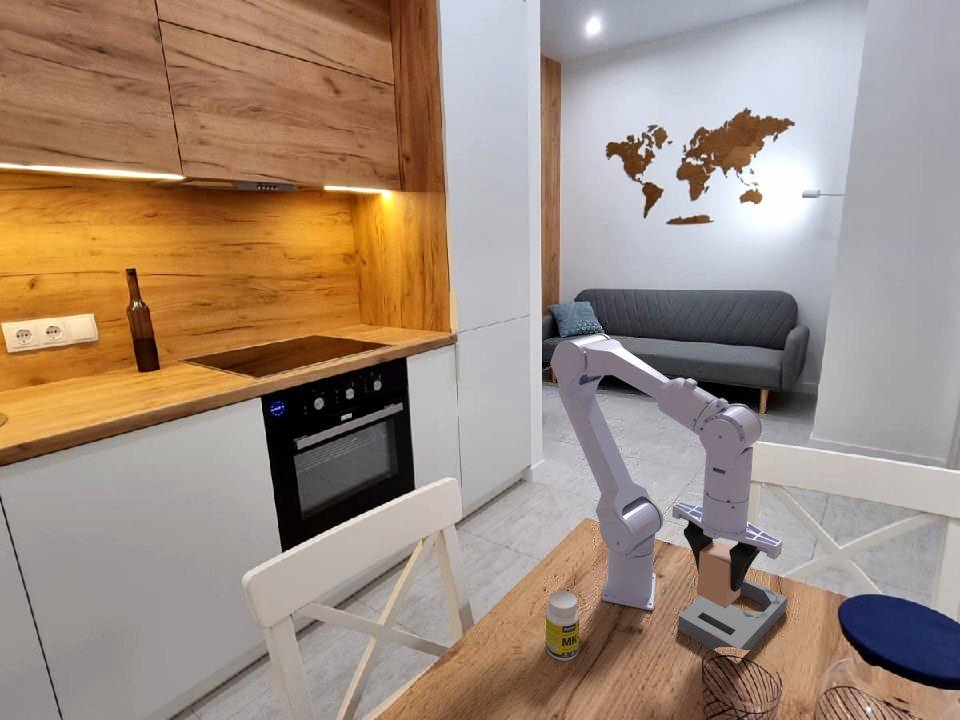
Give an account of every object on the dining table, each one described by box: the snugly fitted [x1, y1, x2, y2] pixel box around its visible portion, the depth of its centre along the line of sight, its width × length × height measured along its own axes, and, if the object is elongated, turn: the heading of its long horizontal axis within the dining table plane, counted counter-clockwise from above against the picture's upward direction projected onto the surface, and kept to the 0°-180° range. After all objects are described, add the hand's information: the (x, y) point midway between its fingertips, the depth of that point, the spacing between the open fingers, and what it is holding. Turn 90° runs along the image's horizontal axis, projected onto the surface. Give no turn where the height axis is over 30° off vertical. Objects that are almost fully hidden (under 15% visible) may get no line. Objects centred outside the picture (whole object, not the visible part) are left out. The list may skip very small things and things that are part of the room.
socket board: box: [677, 577, 788, 651], centre depth 80 cm, size 16×9×2 cm, turn 129°
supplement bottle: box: [545, 589, 580, 662], centre depth 75 cm, size 5×5×8 cm
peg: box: [696, 539, 741, 609], centre depth 74 cm, size 4×4×7 cm
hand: (719, 579), depth 75 cm, fingers closed on peg, 4 cm apart
